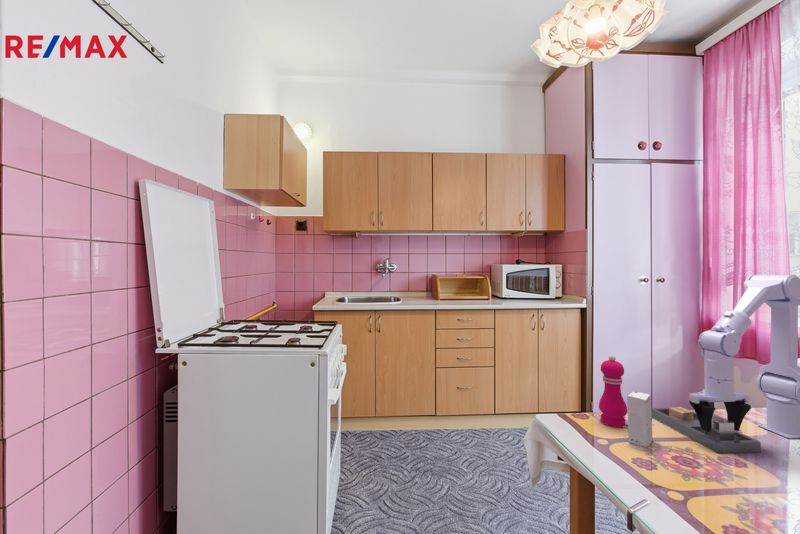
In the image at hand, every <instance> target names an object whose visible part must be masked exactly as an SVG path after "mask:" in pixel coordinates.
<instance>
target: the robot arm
mask: <svg viewBox="0 0 800 534" xmlns="http://www.w3.org/2000/svg"><path fill="white" fill-rule="evenodd" d="M743 290H744V293H743V294H742V296H741V298H739V300H738V302H737V303H736V305H735V307H734V308H733V310H727V311H724V313H723V314H722V315H721V317H720V318H719V319H718V320H717V321H716V322H715V324H714V325H713V326H712V327H711V329H707V330H705V331H703V332H701V333H700V334H699V337H698V340H697V345H698V347H699V349H700V355H701V357H702V358H703V361H704V362H703V363H704V365H703V367H704V368H703V371H704V372H703V374H704V375H703V376H704V389H702V391H699V392H694V393H691V392H690V393H689V394H688V395H689V396H688V397H689V398H688V399H689V401H688V402H689V405H690V406H691V407H692V408H693V409H692V410H693V411H694V412H695V413H696V414H697V417H698V420H699V423H700V426H701V429H703V430H705V431H707V432H711V428H712V416H713V414H715V411H716V407H714V406H712V405H710V404H711V403H723V404H724V407H725V411H726V416H727V418H726V420H729V421H731V422H733V423H734V430H735V431H737V432H740V430H741V425H742V423H743V421H744V419H745V417H746V415H747V414H748V413H749V411H750V410H751V409H752V406H751V404H749V403H750V401H751V400H750V394H748V393H744V392H735V369H734V367H735V365H734V356H735V355H737V353H738V352H739V351H740V347H741V343H742V337H743V335H744V334H745V333H746V332H747V330H748V329H749V327H750V326H752V320H751V318H750V317H751V316H752V315H753V314H754V313H756V312H757V310H758V309H759V308H760V307H761V306H763V304H766V305H767V306H768V307H769V308H770V361H769V363H767V364H764V365H762V366H761V367H759V372H758V376H757V377H756V387H757V389H758V390H759V392H761V393H762V396H763V397H766V402H765V403H766V423H757V426H758V427H760V428H762V429H765V430H767V431H770V432H773V433H775V434H776V435H779V436H782V437H784V438H787V439H800V366H799V365H798V358H799V357H798V354H799V353H798V352H799V351H798V350H799V349H798V348H799V347H798V341H799V340H798V339H799V337H798V336H799V335H798V334H799V329H798V328H799V306H800V277H799V276H798V275H797V274H753V273H752V274H750V275H748V276H747V277H746V279H745V281H744V282H743ZM709 403H710V404H709Z"/></svg>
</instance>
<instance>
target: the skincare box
mask: <svg viewBox="0 0 800 534" xmlns="http://www.w3.org/2000/svg"><path fill="white" fill-rule="evenodd" d="M626 400H627V404H626V406H627V425H628V427H627V429H628V435H627V436H628V442H629V443H631V444H634V445H637V446H640V447H643V448H648V447H649V446H650V445H651V444H652V442H653V423H652V422H653V420H652V419H653V418H652V416H651V408H652V403H651V402H652V399H651V394H649V393H645V392H640V391H632V392H630V393H628V395H627V399H626Z"/></svg>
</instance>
